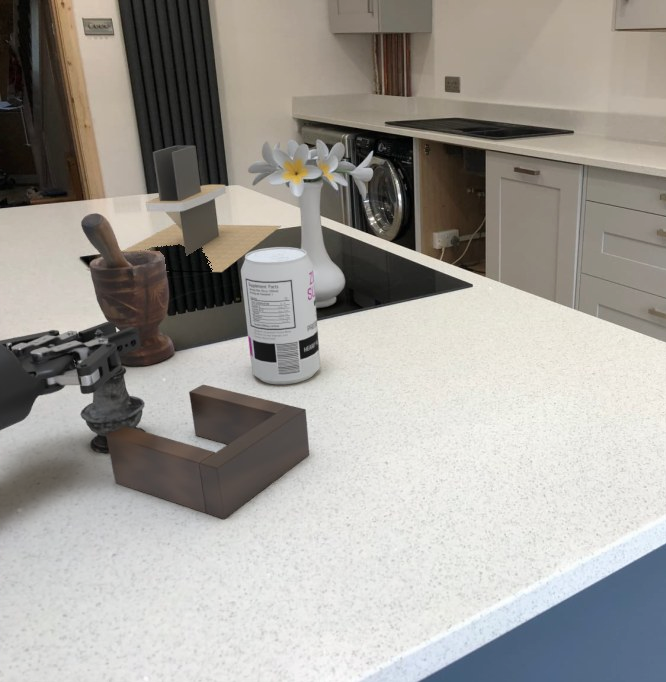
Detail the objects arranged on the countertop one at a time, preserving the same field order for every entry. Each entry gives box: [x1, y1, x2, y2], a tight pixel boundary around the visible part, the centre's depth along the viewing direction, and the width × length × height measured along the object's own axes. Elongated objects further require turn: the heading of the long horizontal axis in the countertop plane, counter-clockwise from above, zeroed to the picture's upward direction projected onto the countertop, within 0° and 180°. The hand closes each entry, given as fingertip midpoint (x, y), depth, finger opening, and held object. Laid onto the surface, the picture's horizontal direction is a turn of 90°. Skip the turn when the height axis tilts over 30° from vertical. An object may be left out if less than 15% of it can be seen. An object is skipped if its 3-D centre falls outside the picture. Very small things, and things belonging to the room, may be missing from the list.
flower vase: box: [247, 139, 374, 309], centre depth 112 cm, size 13×18×25 cm
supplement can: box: [240, 246, 321, 385], centre depth 88 cm, size 8×8×15 cm
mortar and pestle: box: [80, 212, 175, 367], centre depth 90 cm, size 12×9×20 cm
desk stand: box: [106, 384, 310, 520], centre depth 69 cm, size 13×12×5 cm
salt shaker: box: [80, 329, 147, 454], centre depth 73 cm, size 6×6×12 cm
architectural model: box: [86, 145, 281, 273], centre depth 147 cm, size 38×25×20 cm, turn 177°
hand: (124, 334), depth 73 cm, fingers closed on salt shaker, 2 cm apart
